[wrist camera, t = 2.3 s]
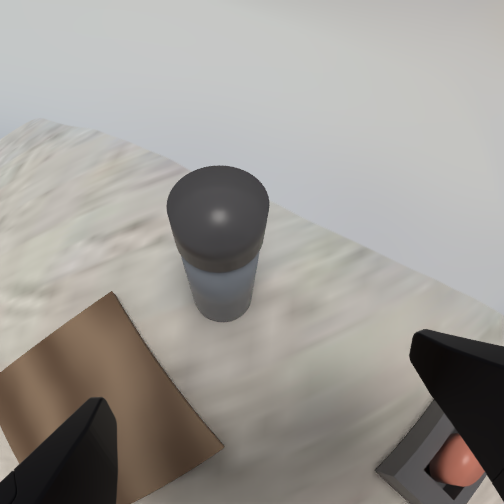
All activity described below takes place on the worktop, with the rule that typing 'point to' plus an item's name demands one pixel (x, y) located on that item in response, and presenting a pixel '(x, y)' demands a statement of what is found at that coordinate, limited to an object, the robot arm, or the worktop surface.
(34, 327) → the worktop surface
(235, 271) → the grey capped bottle
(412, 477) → the button housing
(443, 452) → the button
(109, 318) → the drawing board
